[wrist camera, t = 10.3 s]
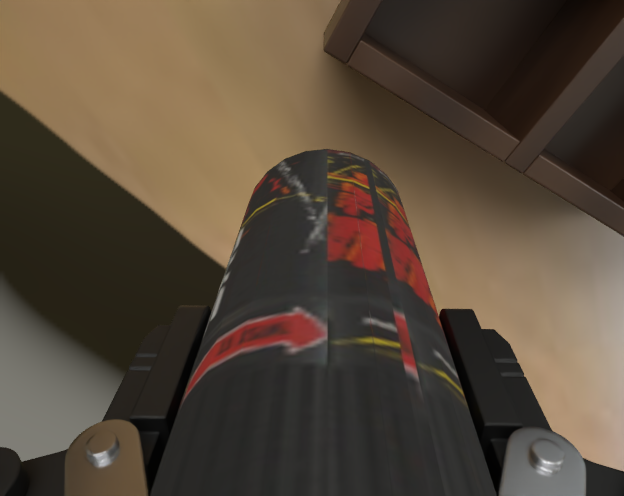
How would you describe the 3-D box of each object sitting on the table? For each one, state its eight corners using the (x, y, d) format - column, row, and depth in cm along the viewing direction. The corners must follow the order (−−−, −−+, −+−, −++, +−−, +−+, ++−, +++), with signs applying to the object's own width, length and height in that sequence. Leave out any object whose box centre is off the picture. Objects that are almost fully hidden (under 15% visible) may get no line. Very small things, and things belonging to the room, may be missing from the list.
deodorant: (395, 291, 19) (540, 964, 6) (250, 287, 19) (91, 941, 6) (414, 150, 16) (780, 901, 3) (241, 147, 16) (-106, 855, 3)
